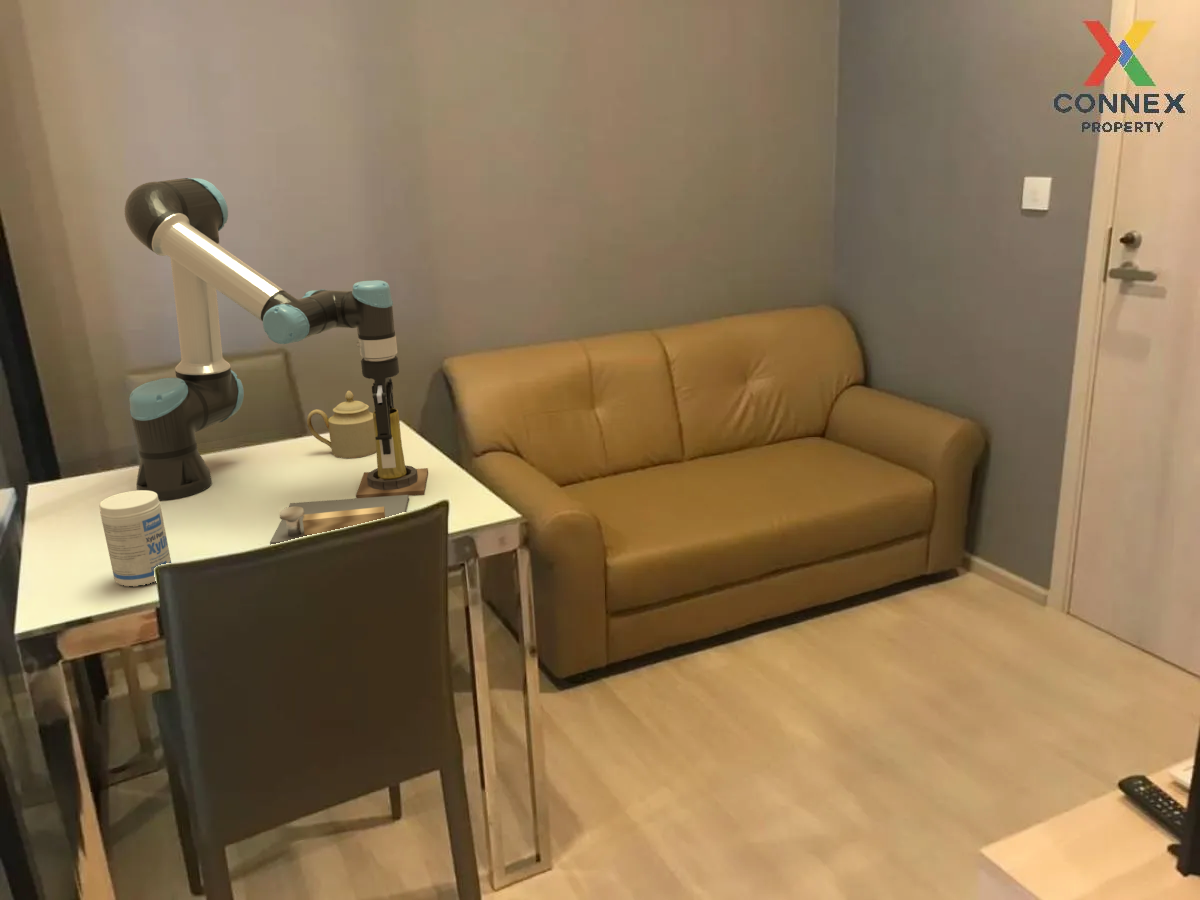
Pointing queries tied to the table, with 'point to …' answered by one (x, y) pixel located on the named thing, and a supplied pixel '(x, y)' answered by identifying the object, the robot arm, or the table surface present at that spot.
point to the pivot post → (293, 527)
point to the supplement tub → (134, 536)
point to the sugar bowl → (348, 429)
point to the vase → (398, 451)
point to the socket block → (393, 484)
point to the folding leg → (331, 518)
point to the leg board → (389, 503)
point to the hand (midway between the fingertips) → (390, 462)
